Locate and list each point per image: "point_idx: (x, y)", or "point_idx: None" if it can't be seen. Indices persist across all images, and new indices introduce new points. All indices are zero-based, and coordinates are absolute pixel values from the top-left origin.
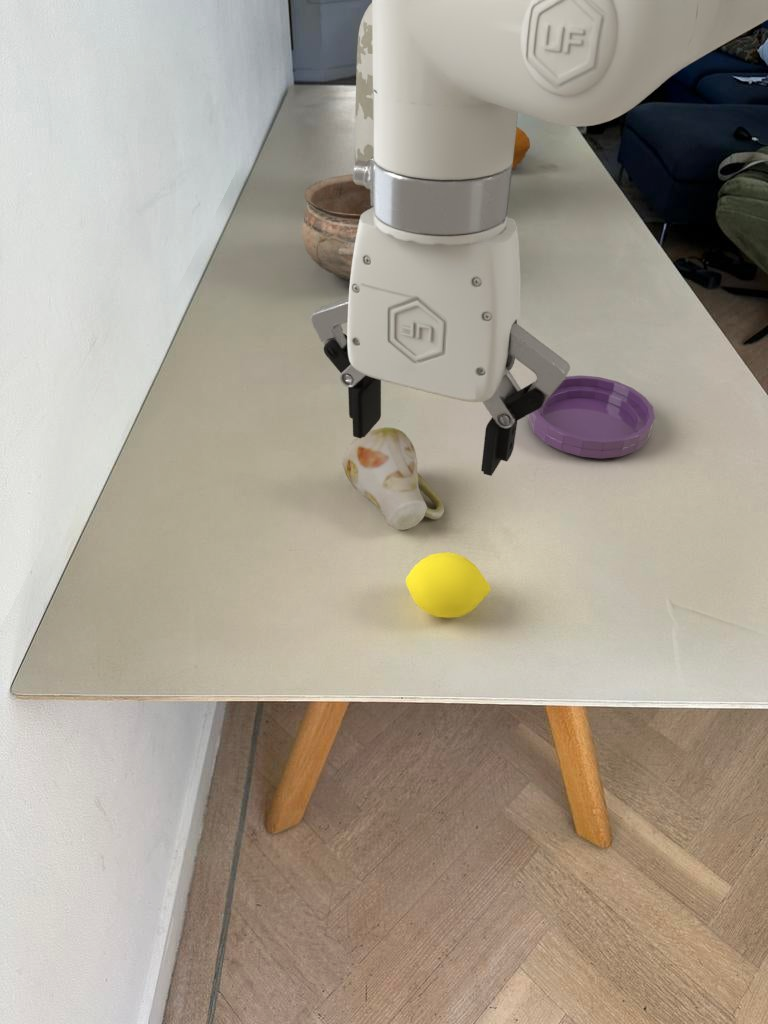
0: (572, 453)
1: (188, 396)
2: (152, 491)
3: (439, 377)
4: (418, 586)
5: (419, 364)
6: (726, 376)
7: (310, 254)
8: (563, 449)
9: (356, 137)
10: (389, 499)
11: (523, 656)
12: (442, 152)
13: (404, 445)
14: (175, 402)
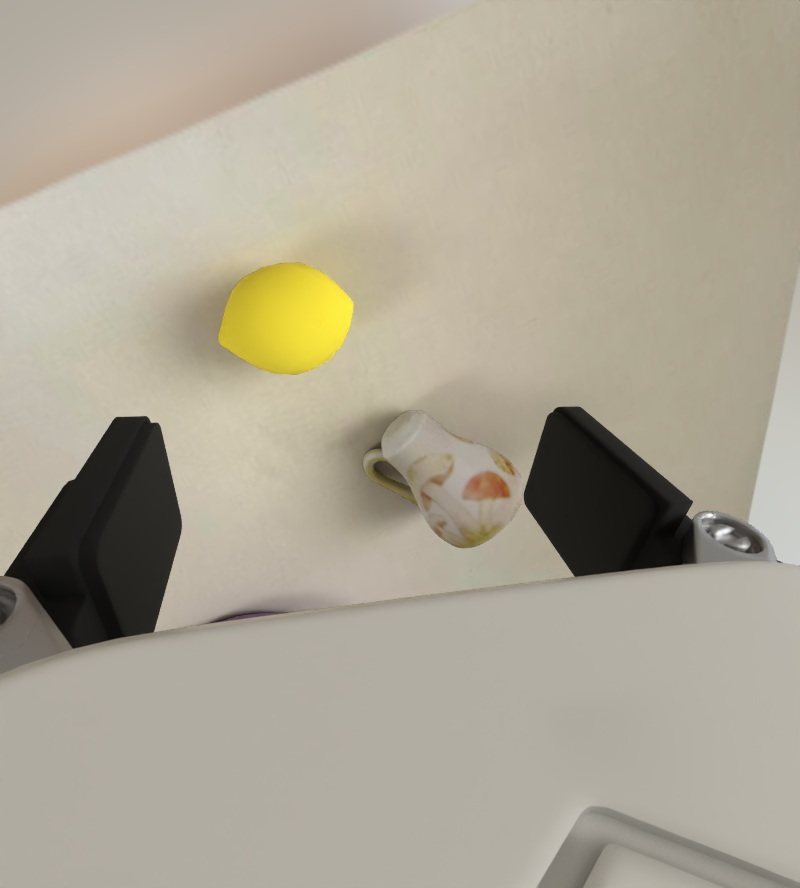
0: (251, 615)
1: (714, 500)
2: (733, 341)
3: (330, 763)
4: (322, 283)
5: (554, 817)
6: None
7: None
8: (264, 615)
9: None
10: (435, 439)
11: (127, 258)
12: None
13: (448, 526)
14: (727, 486)
